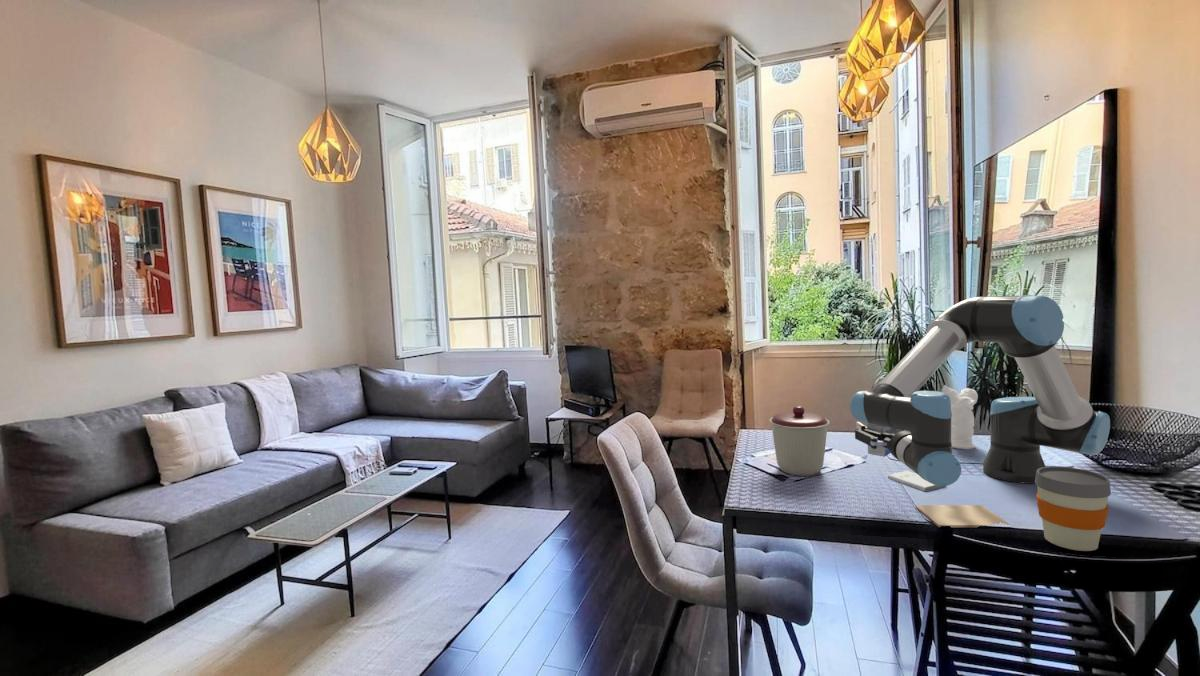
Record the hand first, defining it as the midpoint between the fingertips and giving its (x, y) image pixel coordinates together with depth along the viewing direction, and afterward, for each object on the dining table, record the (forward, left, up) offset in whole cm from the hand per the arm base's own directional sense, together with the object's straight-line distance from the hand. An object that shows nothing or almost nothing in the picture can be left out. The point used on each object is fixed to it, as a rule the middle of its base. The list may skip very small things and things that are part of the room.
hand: (874, 425), depth 151 cm
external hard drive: (-14, -8, -20) cm, 26 cm away
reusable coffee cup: (-30, +30, -19) cm, 46 cm away
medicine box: (0, +5, -6) cm, 8 cm away
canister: (+16, -19, -19) cm, 32 cm away
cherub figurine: (-44, -41, -19) cm, 63 cm away
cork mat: (-14, +17, -19) cm, 29 cm away
